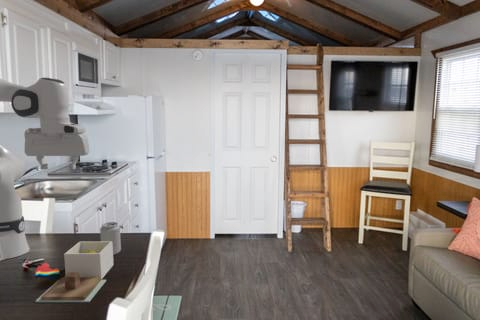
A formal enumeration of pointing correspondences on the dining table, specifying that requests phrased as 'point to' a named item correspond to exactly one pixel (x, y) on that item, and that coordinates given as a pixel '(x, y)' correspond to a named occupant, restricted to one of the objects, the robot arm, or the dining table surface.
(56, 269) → the dining table surface
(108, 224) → the can
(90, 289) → the lid
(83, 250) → the white open square box
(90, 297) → the mat
